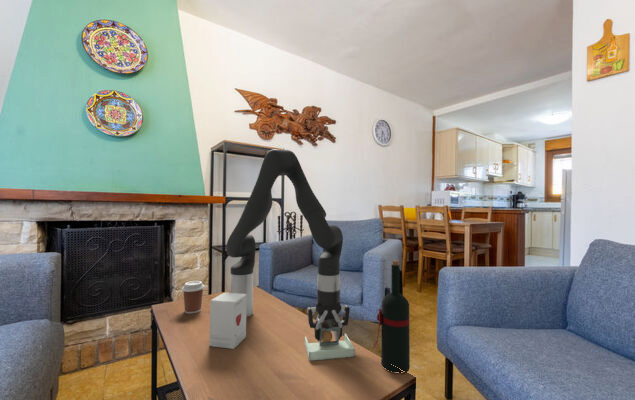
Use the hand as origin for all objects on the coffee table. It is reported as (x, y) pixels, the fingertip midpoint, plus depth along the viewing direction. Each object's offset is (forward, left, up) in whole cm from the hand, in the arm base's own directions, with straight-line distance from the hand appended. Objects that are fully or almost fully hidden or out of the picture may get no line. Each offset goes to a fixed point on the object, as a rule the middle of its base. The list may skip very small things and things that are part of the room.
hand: (328, 338), depth 91 cm
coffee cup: (-40, -51, -3) cm, 65 cm away
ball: (-2, 0, 0) cm, 2 cm away
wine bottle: (+13, +16, -3) cm, 21 cm away
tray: (+2, 0, -3) cm, 3 cm away
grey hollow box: (-2, 0, -1) cm, 2 cm away
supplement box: (-9, -32, -3) cm, 34 cm away
